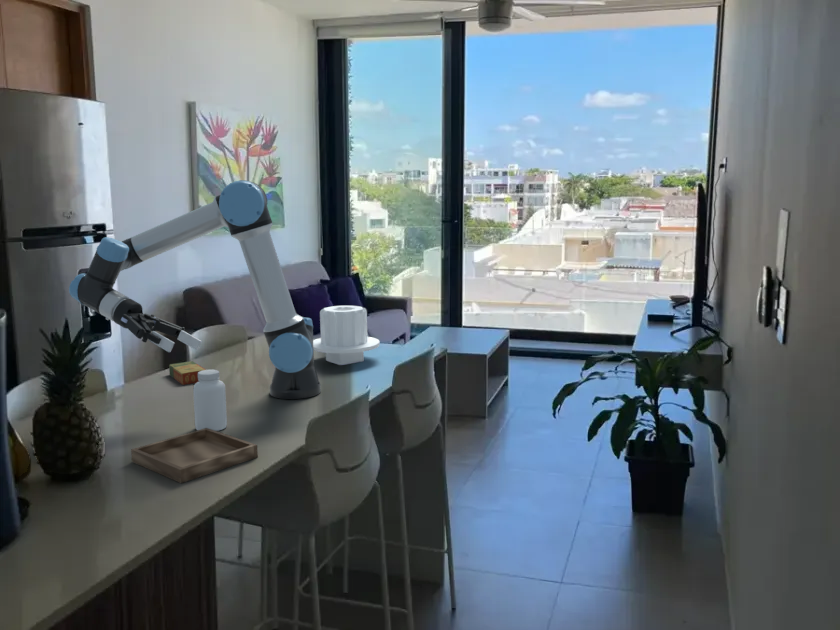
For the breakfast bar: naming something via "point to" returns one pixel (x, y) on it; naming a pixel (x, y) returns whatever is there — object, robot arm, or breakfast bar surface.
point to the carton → (185, 372)
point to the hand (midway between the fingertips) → (186, 346)
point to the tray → (194, 454)
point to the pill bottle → (209, 401)
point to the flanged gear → (344, 334)
